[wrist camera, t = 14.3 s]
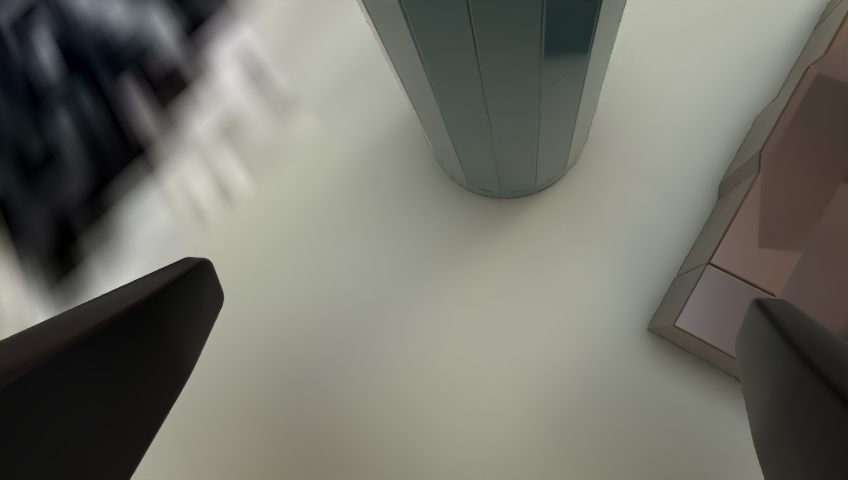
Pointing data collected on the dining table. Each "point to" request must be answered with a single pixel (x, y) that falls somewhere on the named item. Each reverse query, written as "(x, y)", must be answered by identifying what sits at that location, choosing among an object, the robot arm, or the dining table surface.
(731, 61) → the dining table surface
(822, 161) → the holder
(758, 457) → the robot arm
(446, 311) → the dining table surface
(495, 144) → the tumbler
